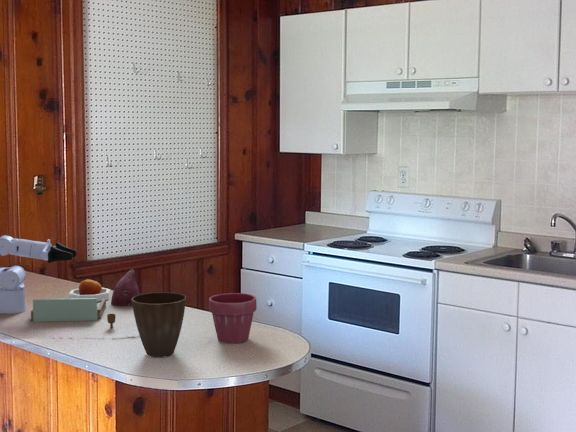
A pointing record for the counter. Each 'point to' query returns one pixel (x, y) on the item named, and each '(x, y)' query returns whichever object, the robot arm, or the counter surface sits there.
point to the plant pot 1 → (159, 321)
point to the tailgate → (64, 309)
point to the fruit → (89, 287)
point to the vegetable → (125, 290)
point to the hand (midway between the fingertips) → (74, 255)
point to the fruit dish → (102, 295)
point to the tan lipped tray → (99, 310)
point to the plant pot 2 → (232, 316)
